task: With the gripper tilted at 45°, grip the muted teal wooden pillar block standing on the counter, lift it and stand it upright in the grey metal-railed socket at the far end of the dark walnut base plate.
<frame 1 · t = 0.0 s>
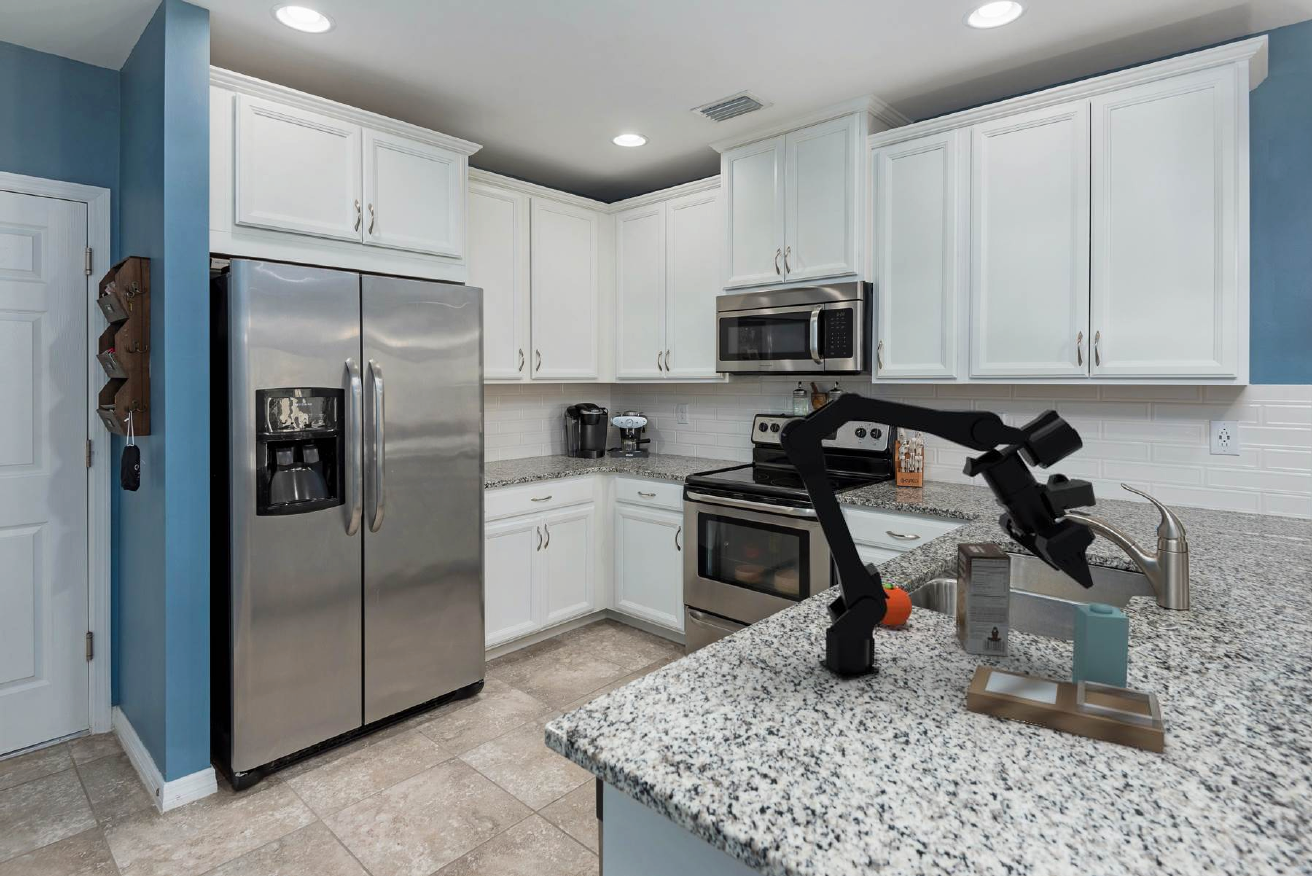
hand: (1074, 577, 100), 15 cm above the countertop, tool tilted 35°, fingers open, 9 cm apart
walnut base plate: (1060, 714, 90), on the countertop
teal pillar: (1098, 692, 97), on the countertop
clementine: (888, 625, 125), on the countertop
coffee box: (980, 646, 115), on the countertop
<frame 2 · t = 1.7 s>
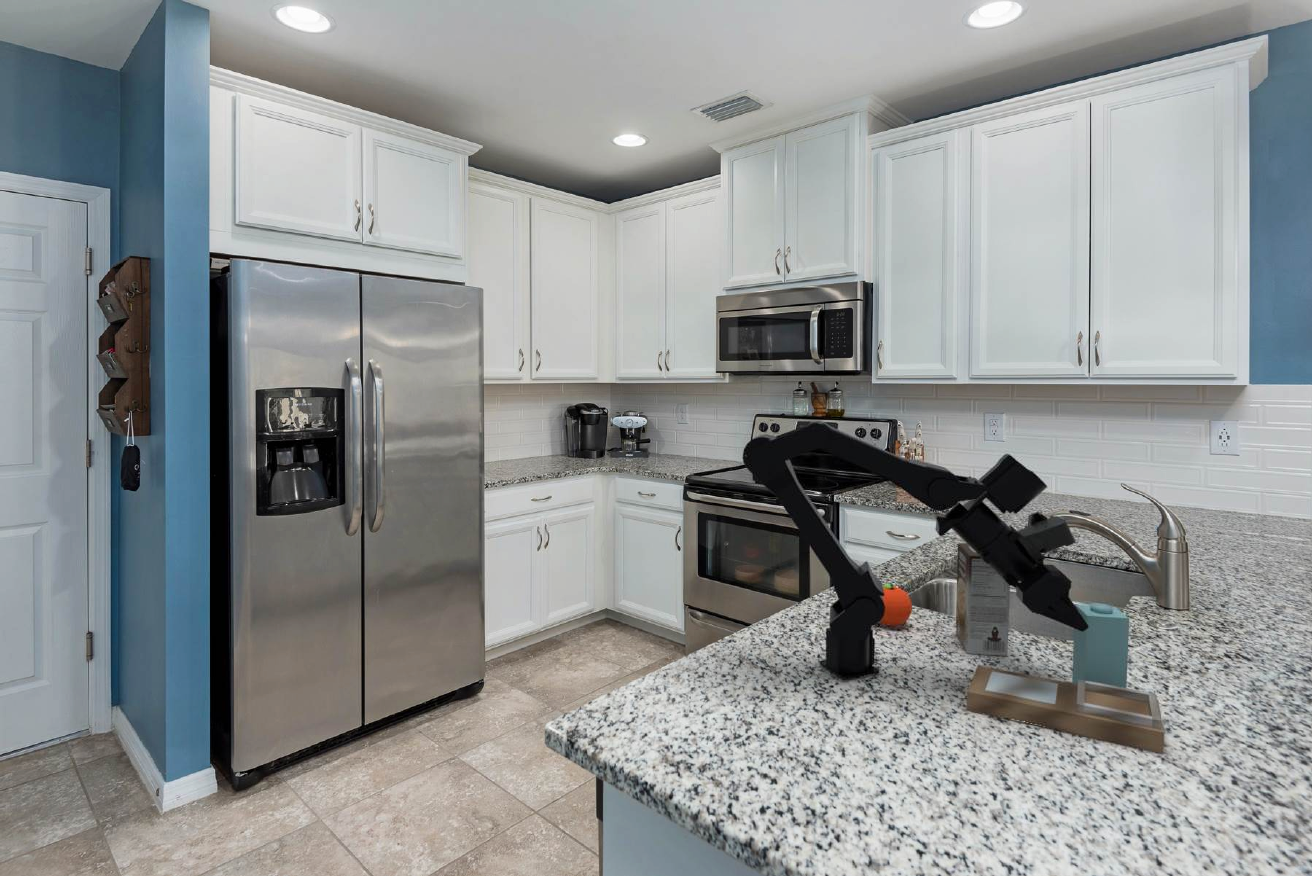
hand: (1074, 617, 97), 10 cm above the countertop, tool tilted 45°, fingers open, 9 cm apart
nothing on the countertop moved.
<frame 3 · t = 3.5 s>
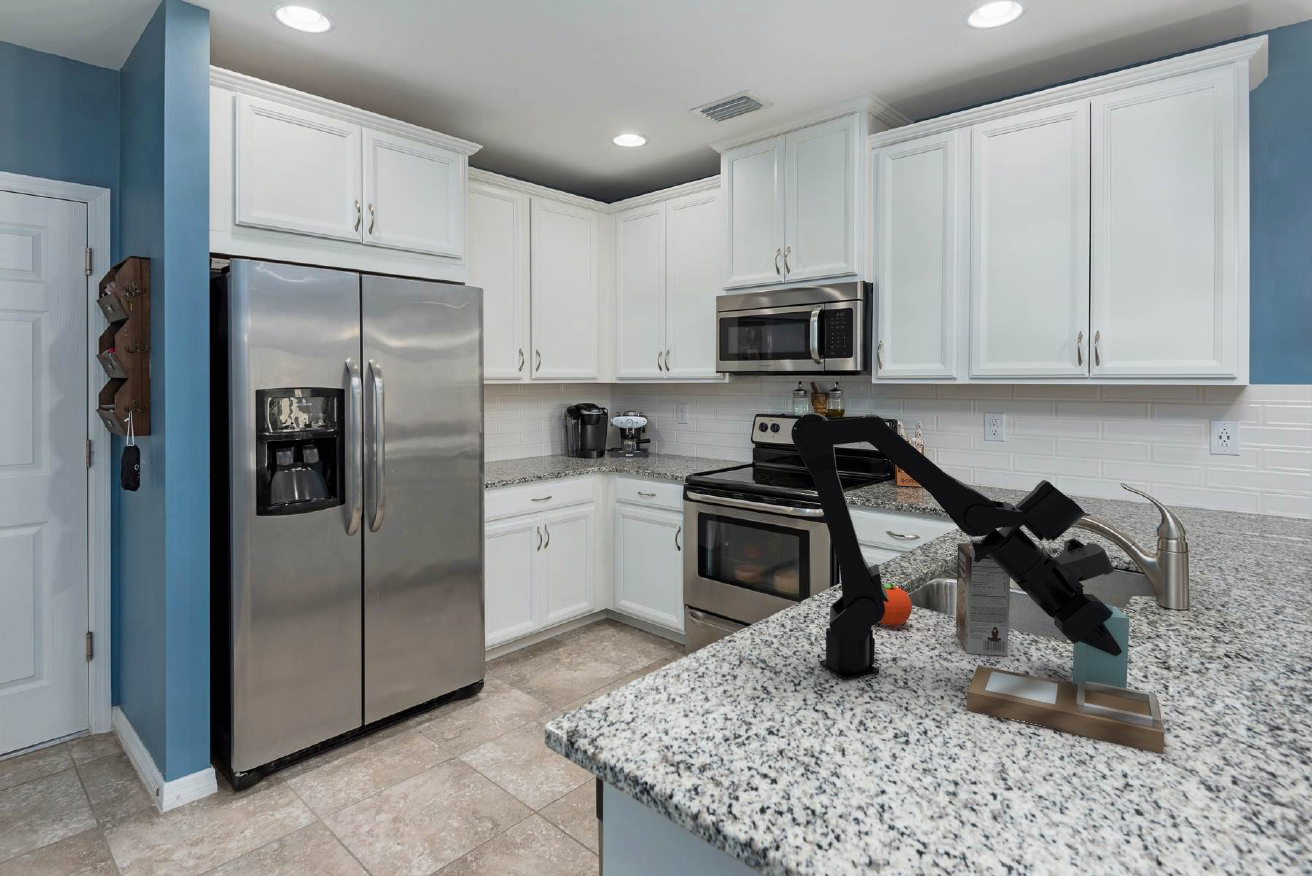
hand: (1111, 646, 96), 7 cm above the countertop, tool tilted 45°, fingers closed on teal pillar, 5 cm apart
teal pillar: (1098, 692, 97), on the countertop, touching gripper
everything else where it was.
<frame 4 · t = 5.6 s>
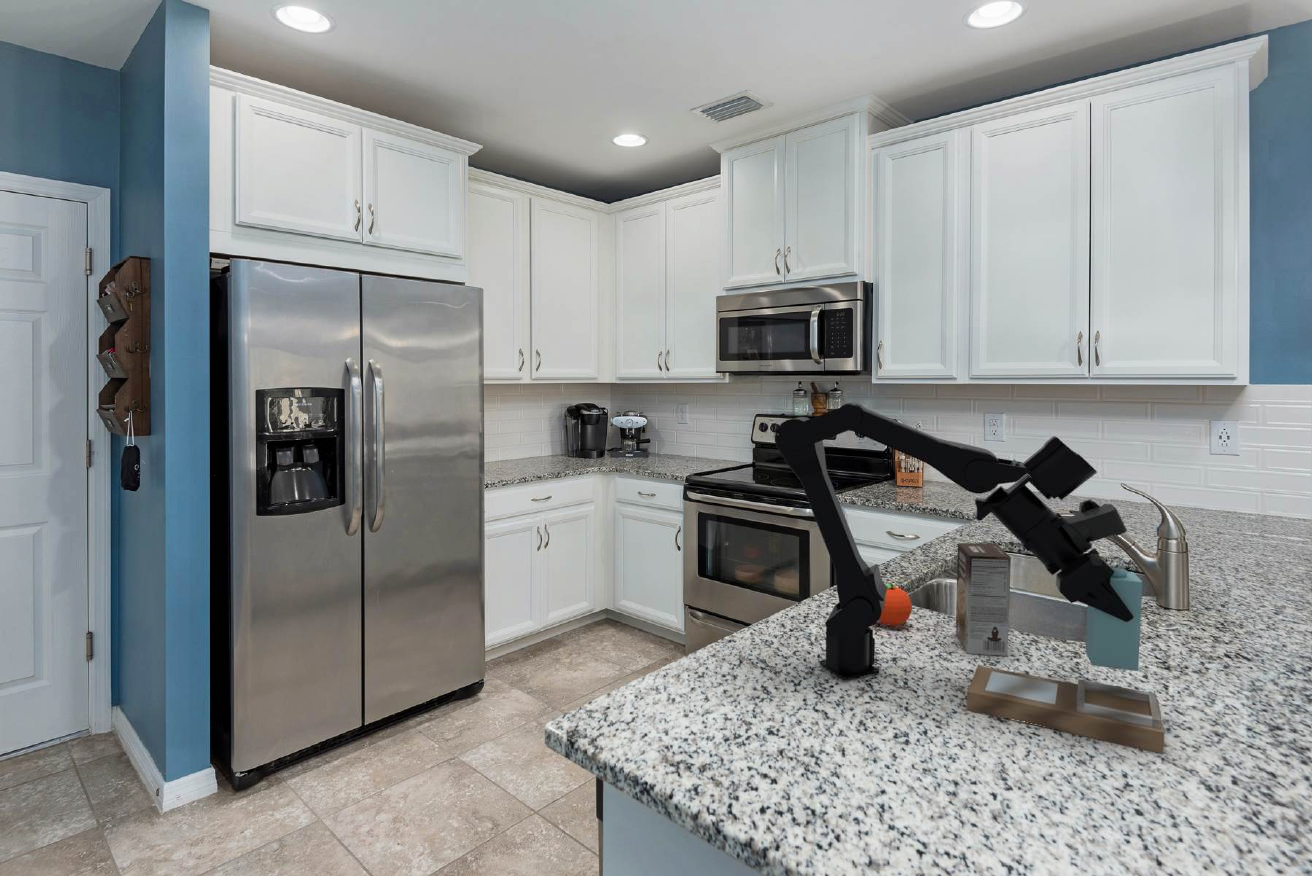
hand: (1125, 613, 90), 13 cm above the countertop, tool tilted 45°, fingers closed on teal pillar, 5 cm apart
teal pillar: (1110, 661, 92), point 6 cm above the countertop, touching gripper
everything else where it was.
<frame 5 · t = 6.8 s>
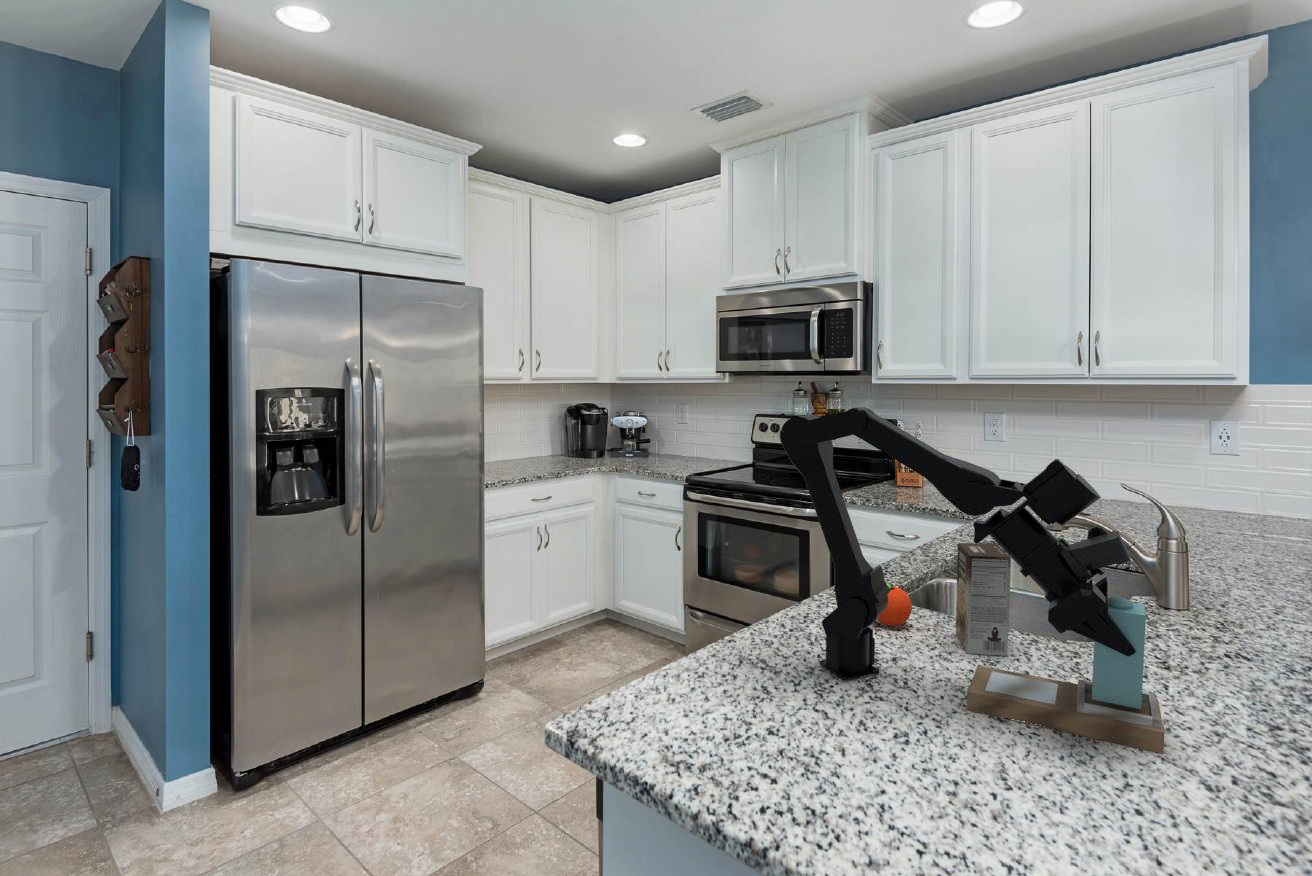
hand: (1131, 646, 86), 10 cm above the countertop, tool tilted 45°, fingers closed on teal pillar, 5 cm apart
teal pillar: (1115, 696, 87), point 4 cm above the countertop, touching gripper
everything else where it was.
when the fingers open (10 cm above the countertop, at t = 7.6 s): teal pillar stays where it is, resting on walnut base plate.
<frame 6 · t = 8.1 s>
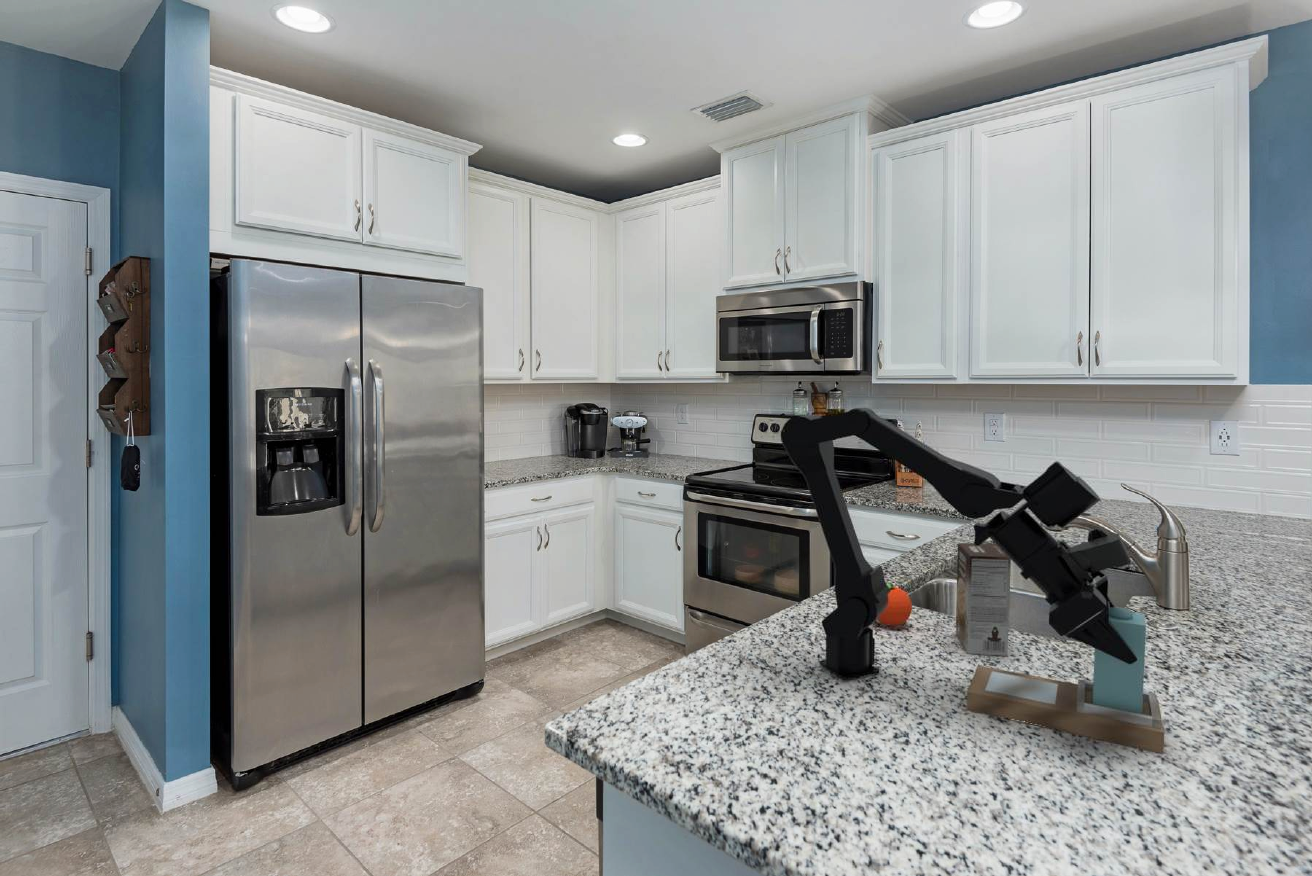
hand: (1132, 649, 86), 10 cm above the countertop, tool tilted 45°, fingers open, 9 cm apart
teal pillar: (1116, 706, 87), point 2 cm above the countertop, touching walnut base plate
everything else where it was.
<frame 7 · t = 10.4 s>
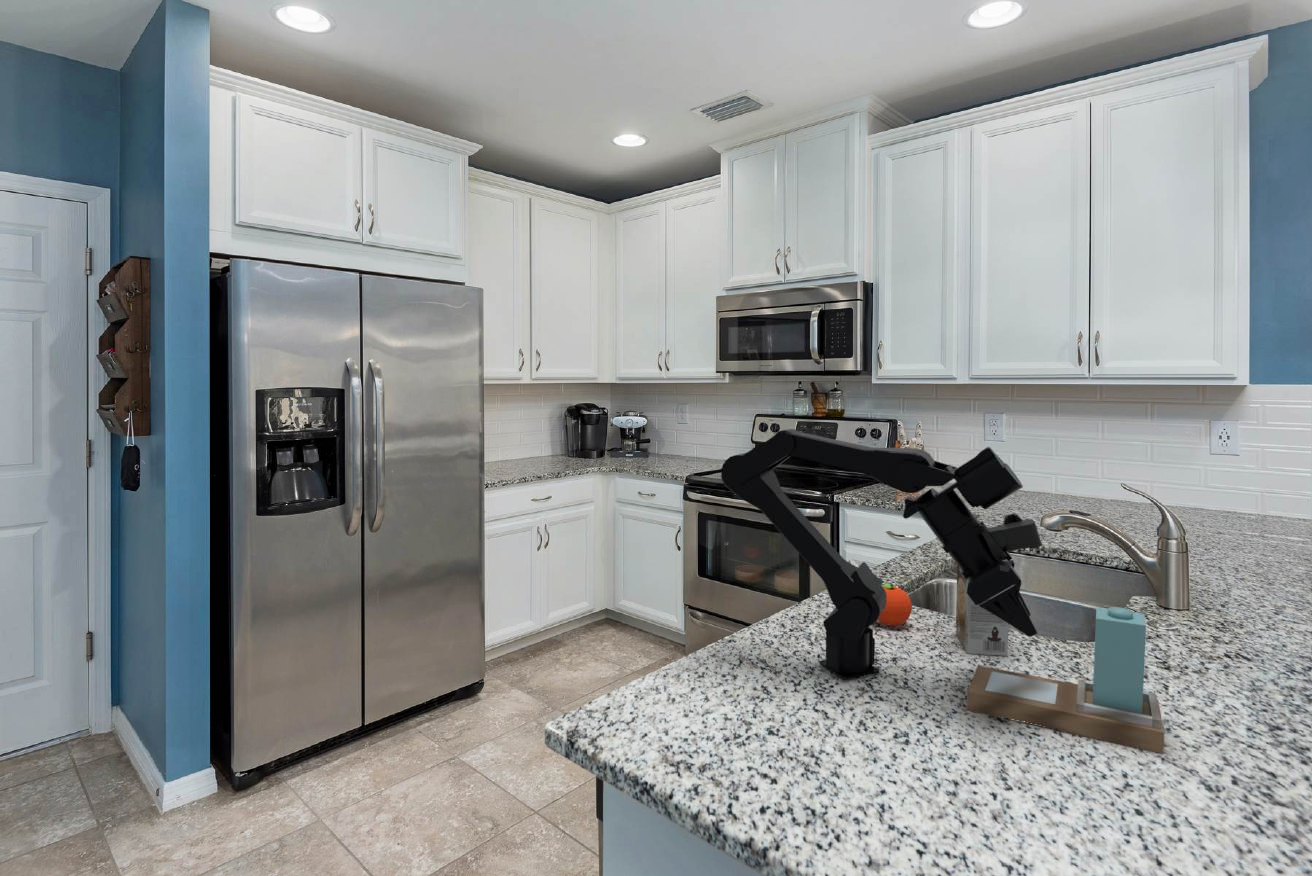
hand: (1030, 625, 93), 11 cm above the countertop, tool tilted 35°, fingers open, 9 cm apart
nothing on the countertop moved.
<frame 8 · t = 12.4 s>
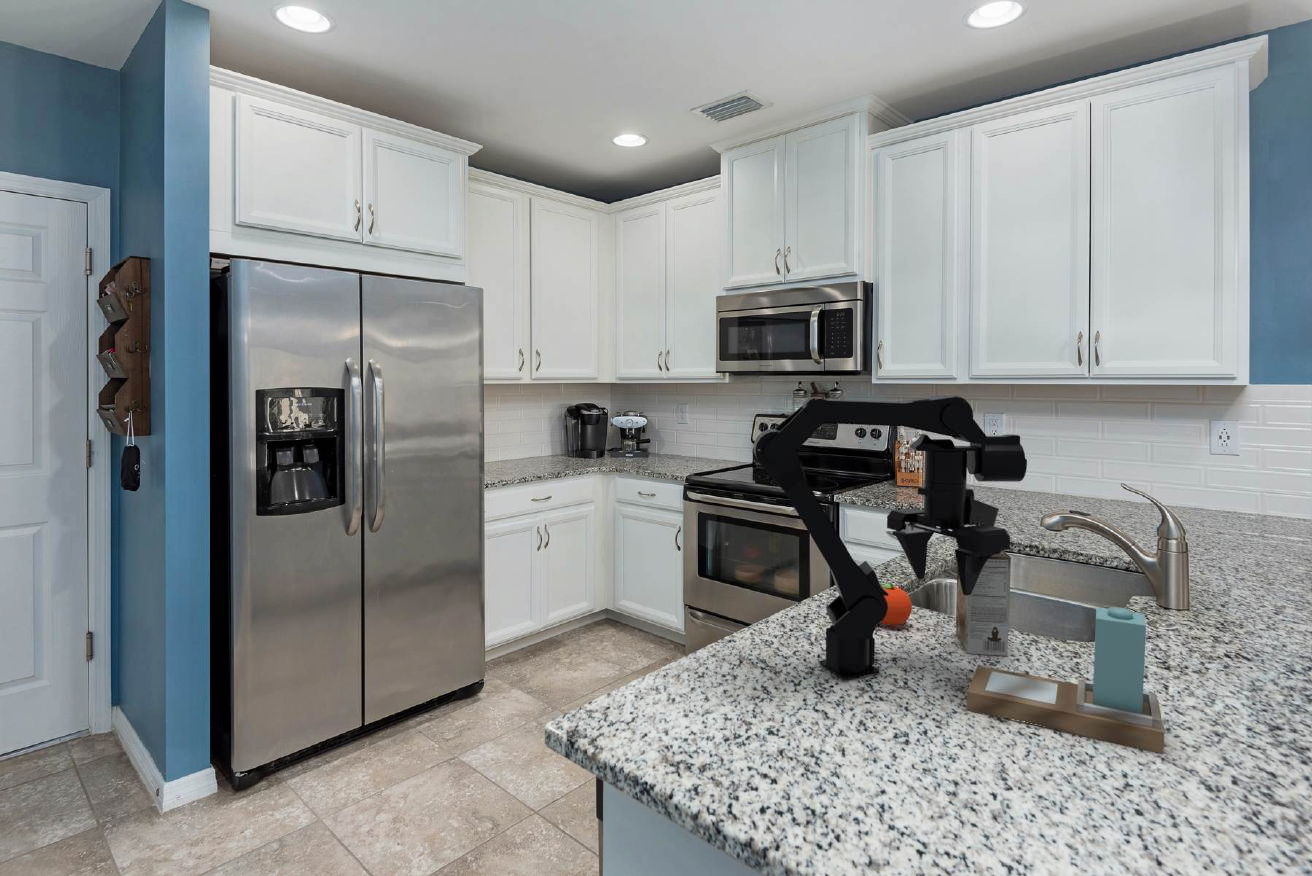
hand: (943, 586, 103), 13 cm above the countertop, tool pointing down, fingers open, 9 cm apart
nothing on the countertop moved.
at the end: teal pillar 0.0 cm from the target spot on the walnut base plate, point 2.5 cm above the walnut base plate's base; teal pillar tilted 0°; the gripper is holding nothing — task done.
